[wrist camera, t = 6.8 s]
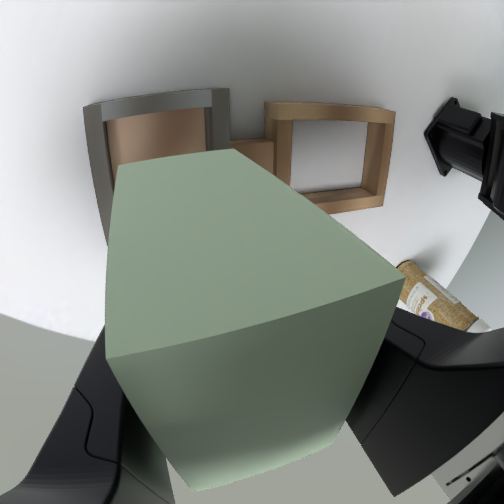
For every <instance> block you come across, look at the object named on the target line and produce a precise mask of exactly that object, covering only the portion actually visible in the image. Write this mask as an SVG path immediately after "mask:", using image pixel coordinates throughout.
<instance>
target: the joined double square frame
mask: <svg viewBox="0 0 504 504" xmlns="http://www.w3.org/2000/svg"><path fill="white" fill-rule="evenodd" d="M83 114H84V123H85V131H86V139H87V146H88V153H89V160H90V166H91V172H92V177H93V183H94V188H95V193H96V198H97V203H98V208H99V213H100V217H101V222H102V226H103V230H104V234H105V238H106V242H107V246H108V241H109V230H110V221H111V212H112V204H113V196H114V189H115V184H114V182H116V176H117V170H118V165H122V164H127V163H133V162H138V161H144V160H150V159H156V158H163V157H169V156H176V155H183V154H190V153H198V152H206V151H215V150H224V149H235V150H237V151H238V152H240V153H241V154H243V155H244V156H246V157H247V158H249V159H250V160H252V161H253V162H255V163H256V164H258V165H259V166H261V167H262V168H264V169H265V170H267V171H268V172H270V173H271V174H272V175H274V176H275V177H277V178H278V179H280V180H281V181H283V182H284V183H285V184H287V185H288V186H290V175H291V152H292V124H293V120H341V121H361V122H368V131H367V141H366V151H365V160H364V168H363V176H362V183H361V188H351V189H342V190H333V191H325V192H316V193H308V194H301V195H302V196H304V197H305V198H306V199H308V200H309V201H311V202H312V203H313V204H315V205H316V206H317V207H319V208H320V209H321V210H323V211H324V212H325V213H327V214H328V215H329V214H336V213H342V212H348V211H354V210H361V209H367V208H374V207H380V206H383V202H384V196H385V190H386V184H387V178H388V171H389V164H390V157H391V150H392V142H393V133H394V124H395V114H396V112H394V111H390V110H386V109H382V108H377V107H368V106H358V105H346V104H333V103H314V102H265V129H264V138H255V139H242V140H230V117H229V88H212V89H197V90H185V91H174V92H165V93H157V94H149V95H142V96H136V97H129V98H123V99H118V100H112V101H107V102H102V103H97V104H92V105H88V106H85V107H83ZM106 123H107V126H106ZM107 132H108V135H107ZM108 141H109V144H108ZM109 149H110V151H109ZM110 156H111V159H110ZM111 163H112V165H111ZM112 170H113V172H112ZM113 176H114V178H113Z"/></svg>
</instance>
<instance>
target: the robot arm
mask: <svg viewBox="0 0 504 504" xmlns="http://www.w3.org/2000/svg"><path fill="white" fill-rule="evenodd" d="M425 137H426V140H427V142H428V144H429V147H430V149H431V151H432V154H433V156H434V159H435V161H436V164H437V166H438V169H439V171H440V174H441V175H442V176H446V175H447V174H448V173H449V171H450V170H451V168H455V169H457V170H459V171H461V172H463V173H465V174H467V175H469V176H471V177H473V178H475V179H478V180H479V181H481V182H482V185H481V190H480V193H479V195H478V199H479V200H481V201H482V202H483V203H484V204H485V205H486V206H487V207H488V208H490V209H491V210H492V211H493V212H495V213H496V214H497V215H498V216H499V217H500V218H502V219H503V220H504V114H499V113H494V112H491V119H488V118H485V117H482V116H481V114H480V113H477V112H473V111H470V110H467V109H463V108H460V105H459V102H458V100H457V98H454V97H452V98H451V99H450V100H449V102H448V103H447V104H446V106H445V107H444V108H443V110H442V111H441V112H440V114H439V115H438V116H437V117H436V119H435V120H434V121H433V123H432V124H431V125H430V126H429V128H428V129H427V130H426V132H425ZM74 386H75V387H73V388H72V390H71V393H70V395H69V397H68V399H67V401H66V403H65V405H64V407H63V409H62V412H61V414H60V415H59V417H58V419H57V421H56V423H55V425H54V427H53V428H52V430H51V432H50V434H49V436H48V437H47V439H46V441H45V443H44V445H43V447H42V448H41V450H40V452H39V454H38V456H37V457H36V460H35V462H34V463H33V465H32V467H31V469H30V470H29V472H28V474H27V475H26V476H25V478H24V479H23V480H22V481H21V482H20V483H19V484H18V485H17V486H16V487H14V488H13V489H11V490H10V491H8V492H6V493H5V494H3V495H1V496H0V504H175V500H174V496H173V491H172V487H171V482H170V478H169V472H168V468H167V462H166V457H165V455H164V454H163V452H162V451H161V450H160V448H159V447H158V445H157V444H156V442H155V441H154V439H153V438H152V437H151V435H150V434H149V432H148V431H147V429H146V427H145V426H144V424H143V423H142V421H141V420H140V418H139V417H138V415H137V413H136V412H135V410H134V408H133V407H132V405H131V403H130V402H129V400H128V398H127V397H126V395H125V393H124V391H123V390H122V388H121V386H120V384H119V383H118V381H117V379H116V377H115V375H114V373H113V372H112V370H111V368H110V366H109V364H108V362H107V360H106V350H105V325H104V327H103V329H102V331H101V333H100V334H99V336H98V338H97V340H96V342H95V344H94V346H93V348H92V350H91V352H90V354H89V356H88V358H87V360H86V362H85V364H84V366H83V368H82V370H81V372H80V374H79V376H78V378H77V380H76V382H75V385H74ZM346 422H347V423H348V425H349V427H350V428H351V430H352V431H353V433H354V434H355V436H356V438H357V439H358V441H359V443H360V444H361V446H362V448H363V449H364V451H365V452H366V454H367V456H368V457H369V459H370V460H371V462H372V464H373V465H374V467H375V468H376V470H377V472H378V473H379V475H380V476H381V478H382V480H383V481H384V483H385V484H386V486H387V487H388V489H389V491H390V492H391V494H392V495H393V496H394V497H395V496H397V495H399V494H401V493H402V492H404V491H405V490H407V489H409V488H410V487H412V486H413V485H415V484H416V483H418V482H419V481H421V480H422V479H424V478H425V477H427V476H428V475H430V474H432V476H433V477H434V479H435V480H436V481H437V483H438V484H439V485H440V487H441V488H442V489H443V491H444V492H445V493H446V494H447V496H448V497H449V498H450V500H451V501H450V502H449V503H448V504H504V328H500V329H496V330H492V331H488V332H482V333H472V332H466V331H463V330H460V329H457V328H454V327H451V326H448V325H445V324H442V323H439V322H436V321H433V320H430V319H427V318H424V317H421V316H419V315H416V314H413V313H410V312H408V311H405V310H403V309H400V308H398V307H396V308H395V311H394V314H393V316H392V319H391V322H390V324H389V327H388V329H387V332H386V334H385V337H384V339H383V342H382V344H381V347H380V349H379V351H378V354H377V356H376V358H375V360H374V363H373V365H372V367H371V369H370V372H369V374H368V376H367V378H366V380H365V382H364V384H363V387H362V389H361V391H360V393H359V395H358V397H357V399H356V401H355V403H354V405H353V407H352V409H351V410H350V412H349V414H348V416H347V418H346Z"/></svg>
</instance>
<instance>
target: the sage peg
mask: <svg viewBox="0 0 504 504" xmlns="http://www.w3.org/2000/svg"><path fill="white" fill-rule="evenodd" d="M405 279H406V276H405V275H404V274H403V273H401V272H400V271H399V270H398V269H397V268H395V267H394V266H393V265H392V264H391V263H389V262H388V261H387V260H386V259H384V258H383V257H382V256H381V255H380V254H378V253H377V252H376V251H375V250H373V249H372V248H371V247H370V246H368V245H367V244H366V243H365V242H363V241H362V240H361V239H359V238H358V237H357V236H356V235H354V234H353V233H352V232H351V231H349V230H348V229H347V228H345V227H344V226H343V225H341V224H340V223H339V222H337V221H336V220H335V219H333V218H332V217H331V216H330V215H328V214H327V213H325V212H324V211H323V210H321V209H320V208H319V207H317V206H316V205H315V204H313V203H312V202H311V201H309V200H308V199H306V198H305V197H304V196H302V195H301V194H300V193H298V192H297V191H295V190H294V189H292V188H291V187H290V186H288V185H287V184H285V183H284V182H283V181H281V180H280V179H278V178H277V177H275V176H274V175H272V174H271V173H270V172H268V171H267V170H265V169H264V168H262V167H261V166H259V165H258V164H256V163H255V162H253V161H252V160H250V159H249V158H247V157H246V156H244V155H243V154H241V153H240V152H238V151H237V150H235V149H224V150H215V151H206V152H198V153H190V154H183V155H176V156H169V157H163V158H156V159H150V160H144V161H138V162H133V163H127V164H122V165H118V170H117V176H116V182H115V189H114V196H113V204H112V212H111V221H110V230H109V241H108V254H107V269H106V291H105V350H106V360H107V362H108V364H109V366H110V368H111V370H112V372H113V373H114V375H115V377H116V379H117V381H118V383H119V384H120V386H121V388H122V390H123V391H124V393H125V395H126V397H127V398H128V400H129V402H130V403H131V405H132V407H133V408H134V410H135V412H136V413H137V415H138V417H139V418H140V420H141V421H142V423H143V424H144V426H145V427H146V429H147V431H148V432H149V434H150V435H151V437H152V438H153V439H154V441H155V442H156V444H157V445H158V447H159V448H160V450H161V451H162V452H163V454H164V455H165V457H166V458H167V459H168V461H169V462H170V463H171V464H172V466H173V467H174V469H175V470H176V471H177V473H178V474H179V475H180V476H181V478H182V479H183V480H184V482H185V483H186V484H187V485H188V486H189V488H190V489H191V490H192V491H193V492H197V491H202V490H206V489H210V488H214V487H218V486H222V485H225V484H229V483H233V482H236V481H240V480H243V479H246V478H249V477H253V476H255V475H259V474H262V473H265V472H267V471H270V470H273V469H276V468H279V467H281V466H284V465H287V464H289V463H292V462H294V461H297V460H299V459H302V458H304V457H307V456H309V455H311V454H314V453H316V452H318V451H320V450H323V449H325V448H327V447H329V446H331V445H332V443H333V441H334V440H335V438H336V436H337V434H338V433H339V431H340V429H341V427H342V425H343V424H344V422H345V420H346V418H347V416H348V414H349V412H350V410H351V409H352V407H353V405H354V403H355V401H356V399H357V397H358V395H359V393H360V391H361V389H362V387H363V384H364V382H365V380H366V378H367V376H368V374H369V372H370V369H371V367H372V365H373V363H374V360H375V358H376V356H377V354H378V351H379V349H380V347H381V344H382V342H383V339H384V337H385V334H386V332H387V329H388V327H389V324H390V322H391V319H392V316H393V314H394V311H395V308H396V306H397V303H398V300H399V297H400V294H401V291H402V288H403V285H404V282H405Z"/></svg>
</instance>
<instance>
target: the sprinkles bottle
mask: <svg viewBox="0 0 504 504" xmlns="http://www.w3.org/2000/svg"><path fill="white" fill-rule="evenodd" d="M397 269H398V270H399V271H400V272H401V273H403V274H404V275H405V276H406V279H405V282H404V285H403V288H402V291H401V294H400V297H399V299H400V300H402V302H404V303H405V304H406V305H407V307H408V308H409V309H410V310H411V311H412V312H413V313H414V314H416V315H419V316H421V317H424V318H427V319H430V320H433V321H436V322H439V323H442V324H445V325H448V326H451V327H454V328H457V329H460V330H463V331H466V332H472V333H482V332H488V331H491V328H490V327H489V326H488V325H487V324H486V323H485V322H484V321H483V320H482V319H479V317H476V316H475V315H474V314H473V313H472V312H470V311H469V310H468V309H467V308H466V307H465V306H464V305H462V303H461V302H460V301H459V300H458V299H457V298H456V297H454V296H453V295H452V294H451V293H450V292H449V291H447V290H446V289H445V288H444V287H443V286H441V285H440V284H439V283H438V282H437V281H435V280H434V279H433V278H432V277H430V276H428V275H427V274H426V273H424V272H423V271H422V270H421V269H419V268H418V267H417V266H416V265H415V263H413V262H412V261H407V262H404V263H402V264H401V265H400V266H398V268H397Z"/></svg>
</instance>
